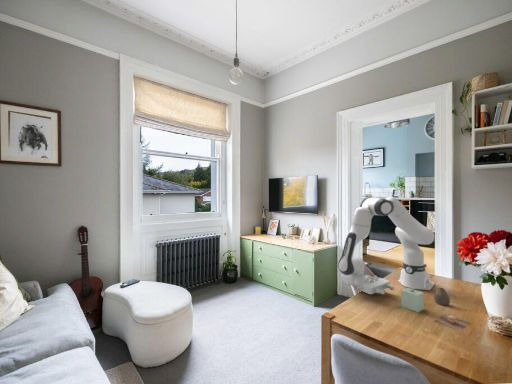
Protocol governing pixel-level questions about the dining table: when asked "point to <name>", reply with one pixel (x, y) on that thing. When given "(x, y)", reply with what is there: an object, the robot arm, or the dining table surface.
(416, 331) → the dining table surface
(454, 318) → the bowl
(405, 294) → the mint green lunchbox
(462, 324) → the board
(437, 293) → the brown rounded lump
